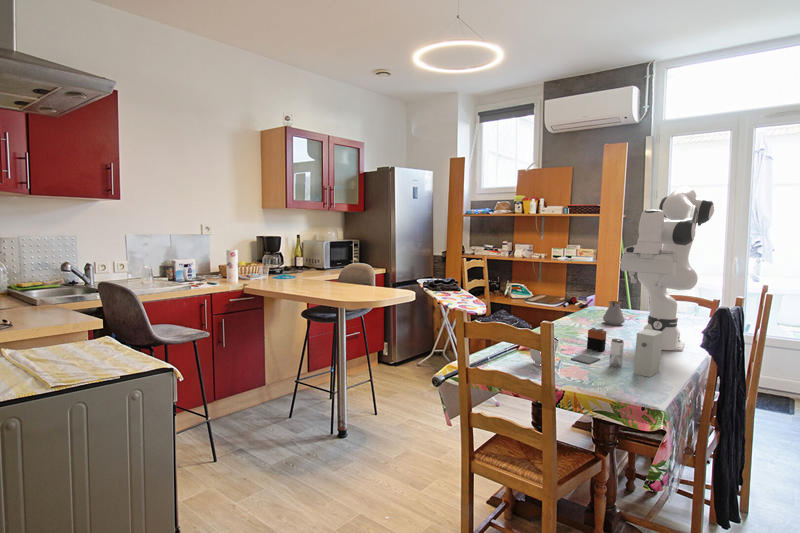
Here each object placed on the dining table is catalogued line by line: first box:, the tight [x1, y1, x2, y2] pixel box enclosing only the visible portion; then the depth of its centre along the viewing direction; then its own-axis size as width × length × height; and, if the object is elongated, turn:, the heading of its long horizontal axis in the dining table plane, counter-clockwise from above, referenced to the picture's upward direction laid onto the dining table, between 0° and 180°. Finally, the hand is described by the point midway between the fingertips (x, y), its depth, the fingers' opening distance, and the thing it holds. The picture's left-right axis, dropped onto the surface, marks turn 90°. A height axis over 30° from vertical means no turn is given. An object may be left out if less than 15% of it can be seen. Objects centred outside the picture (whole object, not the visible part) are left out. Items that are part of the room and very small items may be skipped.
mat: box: [570, 353, 601, 365], centre depth 196 cm, size 10×8×1 cm
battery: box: [586, 327, 607, 353], centre depth 211 cm, size 4×7×10 cm, turn 45°
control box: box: [633, 329, 663, 378], centre depth 180 cm, size 11×6×16 cm, turn 133°
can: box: [609, 338, 625, 369], centre depth 187 cm, size 5×5×11 cm
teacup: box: [529, 339, 560, 367], centre depth 188 cm, size 12×15×10 cm
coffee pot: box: [602, 300, 626, 326], centre depth 262 cm, size 21×12×15 cm, turn 151°
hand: (645, 284), depth 185 cm, fingers open, 8 cm apart
